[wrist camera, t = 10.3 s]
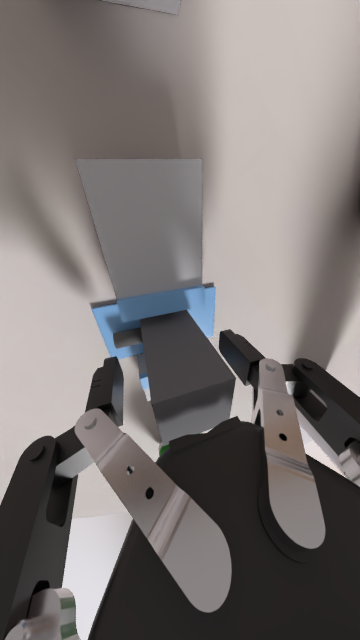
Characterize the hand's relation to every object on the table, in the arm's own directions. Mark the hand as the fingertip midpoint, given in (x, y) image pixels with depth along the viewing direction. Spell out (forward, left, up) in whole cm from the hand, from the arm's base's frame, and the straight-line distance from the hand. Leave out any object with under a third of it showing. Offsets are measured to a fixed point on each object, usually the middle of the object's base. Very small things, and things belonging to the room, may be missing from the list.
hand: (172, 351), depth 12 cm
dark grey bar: (+1, 0, -4) cm, 4 cm away
